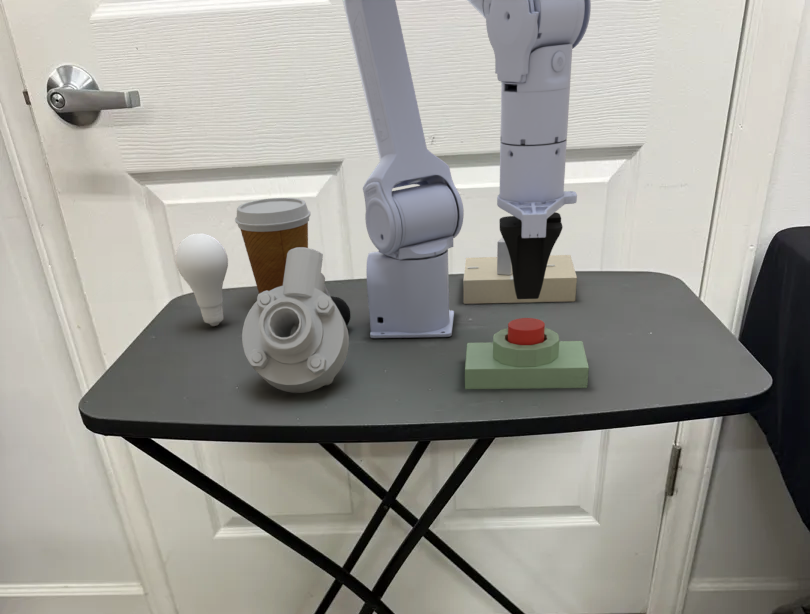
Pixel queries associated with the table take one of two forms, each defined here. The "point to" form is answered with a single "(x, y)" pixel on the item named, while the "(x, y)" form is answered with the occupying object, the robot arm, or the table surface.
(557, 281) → the tan base
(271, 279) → the disposable coffee cup
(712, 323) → the table surface
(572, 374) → the button box
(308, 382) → the centrifugal pump
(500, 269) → the red-topped grey block
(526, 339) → the button
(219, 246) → the lightbulb
